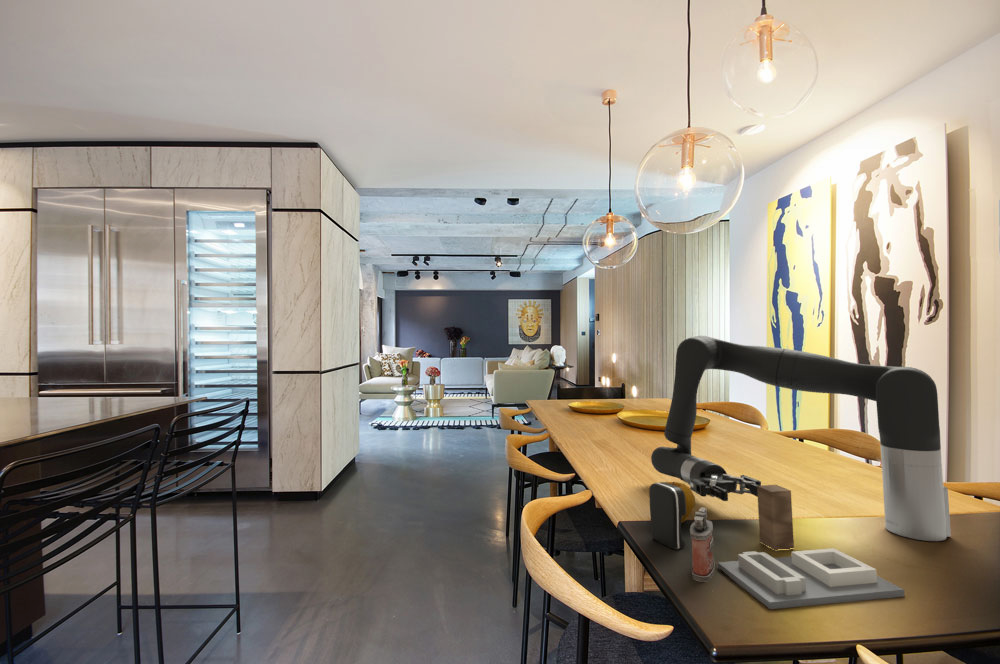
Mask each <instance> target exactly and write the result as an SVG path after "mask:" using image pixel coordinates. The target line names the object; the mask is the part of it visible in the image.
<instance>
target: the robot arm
mask: <svg viewBox="0 0 1000 664" xmlns="http://www.w3.org/2000/svg"><path fill="white" fill-rule="evenodd" d="M675 354H676V355H675V370H674V382H673V390H672V391H673V392H672V397H671V403H670V406H669V407H670V408H669V411H668V416H667V420H666V424H665V428H664V435H663V436H664V437H665V439H666V440H667V441H669V442H671V443H673V444H675V445H676V447H670V446H669V447H668V446H658V447H656V448H655V449H654V450H653V451H652V453H651V456H650V462H651V464H652V466H653V468H654V469H655V471H657V472H658V473H660V474H662V475H666V476H669V477H673V478H677V479H679V480H681V481H683V483H684V482H685V483H686V484H688V485H689V486H690V487H689V488H690V489H691V491H692V492H694V493H696V495H697V494H698V495H699V496H701V497H705V498H706V497H707V496H709V497H710V498H711V497H712V498H717V499H718V500H721V501H723V502H728V501H729V494H731V493H732V494H738V495H743V494H750V495H753V496H755V497H757V498H758V493H757V486H762V480H758V479H756V478H753V477H751V476H747V475H745V474H741V475H740V477H738V476H733V475H731V474H728V473H727V471H726V470H725V469H724V467H722V466H721V465H720V464H716V463H715V462H712V461H710V460H707V459H705V458H701V457H697V456H695V455H692V437H693V436H692V435H693V432H694V428H695V424H696V421H697V420H696V419H697V407H698V406H697V404H698V403H697V400H698V399H697V397H698V396H697V395H698V389H699V386H700V382H701V380H702V377H703V375H704V373H705V371H707V370H719V371H720V370H721V371H728V372H729V371H730V372H733V373H739V374H743V375H744V376H746V377H750V378H752V379H754V380H756V381H758V382H761V383H764V384H766V385H770V386H774V387H778V388H783V389H788V390H793V391H800V392H808V393H816V394H817V393H819V394H836V395H847V396H853V397H857V398H861V399H865V400H870V401H874V402H876V413H877V415H876V416H877V426H878V434H879V439H880V440H879V443H880V460H881V475H882V490H883V491H882V493H883V494H882V495H883V508H884V509H883V510H884V523H885V526H884V527H885V529H886V530H887V531H888V532H890V533H893V534H895V535H898V536H901V537H904V538H909V539H911V540H912V539H913V540H917V541H925V542H941V541H946V540H947V537H952V535H951V534H952V531H951V530H952V529H951V519H950V517H951V516H950V503H949V490H948V487H946V486H944V477H943V476H944V475H943V464H942V447H941V446H942V445H941V428H940V415H939V397H938V396H939V395H938V390H937V385H936V382H935V380H934V379H933V378H932V377H931V376H930V375H929V374H928V373H927V372H925V371H923V370H922V369H918V368H915V367H911V366H910V367H909V366H891V365H890V366H888V365H878V364H877V365H875V364H867V363H866V364H864V363H856V362H851V361H846V360H844V359H843V360H842V359H838V358H835V357H831V356H828V355H827V356H826V355H822V354H818V353H812V352H807V351H802V350H796V349H789V348H782V347H781V348H780V347H773V346H763V345H762V346H761V345H746V344H739V343H734V342H730V341H726V340H722V339H719V338H714V337H712V336H706V335H697V336H692V337H688V338H686V339H684V340H683V341H681V342H680V343H679V345H678V347H677V348H676V353H675ZM738 486H739V489H738V488H737V487H738Z"/></svg>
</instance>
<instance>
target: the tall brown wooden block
mask: <svg viewBox="0 0 1000 664" xmlns="http://www.w3.org/2000/svg"><path fill="white" fill-rule="evenodd" d="M757 493H758V497H757V512H758V530H759V543H760V542H762V543H763V544H765V545H767V546H769V547H771V548H772V549H774V550H778V549H790V548H794V549H795V546H794V545H795V544H794V543H795V542H794V526H793V525H794V524H793V523H794V522H793V521H794V520H793V508H792V507H793V506H792V505H793V504H792V490H791V489H788V488H785V487H783V486H780V485H778V484H763V485H762V484H761V486H757ZM763 544H762V545H763Z"/></svg>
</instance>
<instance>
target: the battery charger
mask: <svg viewBox="0 0 1000 664" xmlns="http://www.w3.org/2000/svg"><path fill="white" fill-rule="evenodd" d="M665 482H666V481H661V482H653V483H652V484H651V485H650V486H649V494H648V495H649V510H650V511H649V514H650V529H651V532H650V533H651V535H650V537H651V538H652V539H653V540H655V541H656V542H658V543H661V544H662V545H665V546H666V547H669V548H670V549H673V550H679V549H681V548H684V547H685V542H684V540H683V537H682V523H681V520H682V516H683V515H686V500H685V494H684V491H683V490H682V489H681V488H679V487H677V486H675V485H672V484H669V483H665Z"/></svg>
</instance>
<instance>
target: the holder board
mask: <svg viewBox="0 0 1000 664" xmlns="http://www.w3.org/2000/svg"><path fill="white" fill-rule="evenodd" d="M737 557H738V558H737V560H732V561H719V562H717V569H718V568H719V569H718V570H720V569H721V570H722V571H723V572H725V573H726V574H727V575H728V576H729V577H728V576H727V575H726V574H725V573H724V574H725V575H726V576H727V577H728V578H730V579H731V580H732V581H734V582H735V583H736V584H737V585H738V586H740V587H741V588H742V589H743V590H745V591H746V592H747V593H749V594H750V595H751V596H753V597H754V598H755V599H756V600H758V602H760V603H761V604H763V606H766V607H767V609H769V610H774V609H775V610H777V609H787V608H797V607H799V608H800V607H808V606H809V607H810V606H816V605H817V606H819V605H829V604H830V605H831V604H837V603H839V604H840V603H849V602H851V603H852V602H860V601H861V602H862V601H869V600H870V601H871V600H880V599H891V598H899V597H900V598H902V597H905V589H904V588H902V587H900V586H898V585H896V584H895V583H893V582H890V581H888V580H887V579H884V578H882V577H880V576H879V575H877V574H878V573H877V569H876V568H874V567H872V566H871V565H868V564H866V563H865V562H862V561H860V560H858V559H856V558H854V557H852V556H850V555H848V554H847V553H844V552H842V551H841V550H838V549H836V548H834V547H833V548H822V549H821V548H820V549H808V550H807V549H806V550H797V551H794V550H792V551H791V556H781V557H780V556H779V557H773V556H771V555H769V554H768V553H766V552H765V551H764V552H763V551H762V552H761V551H760V552H757V551H756V550H755V551H743V552H742V553H738V554H737ZM721 570H720V571H721ZM722 571H721V572H722ZM723 572H722V573H723Z"/></svg>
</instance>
